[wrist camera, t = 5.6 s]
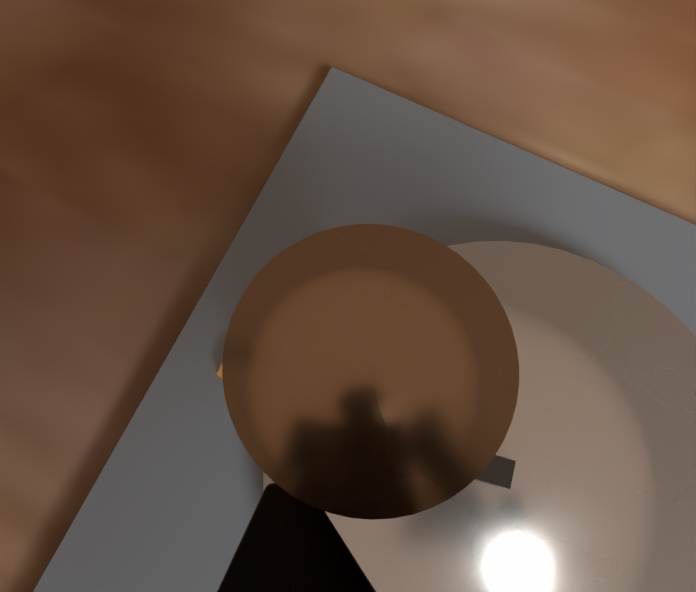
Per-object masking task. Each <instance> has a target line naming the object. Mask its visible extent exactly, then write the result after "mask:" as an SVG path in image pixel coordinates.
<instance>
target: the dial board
mask: <svg viewBox="0 0 696 592" xmlns="http://www.w3.org/2000/svg"><path fill="white" fill-rule="evenodd" d="M353 224H381V225H391V226H396V227H400V228H405V229H409V230H412V231H415V232H418V233H420V234H423V235H426V236H428V237H430V238H432V239H434V240H436V241H438V242H440V243H442V244H444V245H445V246H450V245H456V244H463V243H469V242H478V241H511V242H522V243H532V244H537V245H542V246H546V247H551V248H555V249H560V250H564V251H567V252H570V253H572V254H575V255H578V256H581V257H584V258H587V259H590V260H592V261H594V262H596V263H598V264H600V265H602V266H605V267H607V268H609V269H611V270H613V271H615V272H617V273H619V274H621V275H622V276H624V277H625V278H627V279H628V280H630V281H632V282H633V283H635V284H636V285H638V286H639V287H641V288H643V289H644V290H646V291H647V292H648V293H649V294H651V295H652V296H653V297H654V298H656V299H657V300H658V301H659V302H661V303H662V304H663V305H664V306H666V307H667V308H668V309H669V310H670V311H671V312H672V313H673V314H674V315H675V316H676V317H677V318H678V319H679V320H680V321H681V322H682V323H683V324H684V325H685V326H686V327H687V328H688V329H689V330H690V331H691V332H692V333H693V334H694V335H695V336H696V225H695V224H692V223H690V222H688V221H686V220H683V219H681V218H679V217H676V216H674V215H672V214H669V213H667V212H665V211H663V210H660V209H658V208H656V207H653V206H651V205H649V204H647V203H644V202H642V201H640V200H637V199H635V198H633V197H630V196H628V195H626V194H624V193H621V192H619V191H617V190H614V189H612V188H610V187H607V186H605V185H603V184H601V183H598V182H596V181H594V180H591V179H589V178H587V177H584V176H582V175H580V174H578V173H575V172H573V171H571V170H568V169H566V168H564V167H561V166H559V165H557V164H555V163H552V162H550V161H548V160H545V159H543V158H541V157H538V156H536V155H534V154H532V153H529V152H527V151H525V150H522V149H520V148H518V147H516V146H513V145H511V144H509V143H506V142H504V141H502V140H499V139H497V138H495V137H493V136H490V135H488V134H486V133H483V132H481V131H479V130H476V129H474V128H472V127H470V126H467V125H465V124H463V123H460V122H458V121H456V120H453V119H451V118H449V117H447V116H444V115H442V114H440V113H437V112H435V111H433V110H430V109H428V108H426V107H424V106H421V105H419V104H417V103H414V102H412V101H410V100H408V99H405V98H403V97H401V96H398V95H396V94H394V93H391V92H389V91H387V90H385V89H382V88H380V87H378V86H375V85H373V84H371V83H368V82H366V81H364V80H362V79H359V78H357V77H355V76H352V75H350V74H348V73H345V72H343V71H341V70H339V69H336V68H334V67H331V69H330V71H329V73H328V74H327V76H326V78H325V80H324V81H323V83H322V85H321V87H320V89H319V90H318V92H317V94H316V96H315V97H314V99H313V101H312V103H311V104H310V106H309V108H308V110H307V111H306V113H305V115H304V117H303V118H302V120H301V122H300V124H299V125H298V127H297V129H296V131H295V132H294V134H293V136H292V138H291V139H290V141H289V143H288V145H287V146H286V148H285V150H284V152H283V154H282V155H281V157H280V159H279V161H278V162H277V164H276V166H275V168H274V169H273V171H272V173H271V175H270V176H269V178H268V180H267V182H266V183H265V185H264V187H263V189H262V190H261V192H260V194H259V196H258V197H257V199H256V201H255V203H254V204H253V206H252V208H251V210H250V212H249V213H248V215H247V217H246V219H245V220H244V222H243V224H242V226H241V227H240V229H239V231H238V233H237V234H236V236H235V238H234V240H233V241H232V243H231V245H230V247H229V248H228V250H227V252H226V254H225V255H224V257H223V259H222V261H221V262H220V264H219V266H218V268H217V269H216V271H215V273H214V275H213V277H212V278H211V280H210V282H209V284H208V285H207V287H206V289H205V291H204V292H203V294H202V296H201V298H200V299H199V301H198V303H197V305H196V306H195V308H194V310H193V312H192V313H191V315H190V317H189V319H188V320H187V322H186V324H185V326H184V327H183V329H182V331H181V333H180V334H179V336H178V338H177V340H176V342H175V343H174V345H173V347H172V349H171V350H170V352H169V354H168V356H167V357H166V359H165V361H164V363H163V364H162V366H161V368H160V370H159V371H158V373H157V375H156V377H155V378H154V380H153V382H152V384H151V385H150V387H149V389H148V391H147V392H146V394H145V396H144V398H143V399H142V401H141V403H140V405H139V407H138V408H137V410H136V412H135V414H134V415H133V417H132V419H131V421H130V422H129V424H128V426H127V428H126V429H125V431H124V433H123V435H122V436H121V438H120V440H119V442H118V443H117V445H116V447H115V449H114V450H113V452H112V454H111V456H110V457H109V459H108V461H107V463H106V464H105V466H104V468H103V470H102V472H101V473H100V475H99V477H98V479H97V480H96V482H95V484H94V486H93V487H92V489H91V491H90V493H89V494H88V496H87V498H86V500H85V501H84V503H83V505H82V507H81V508H80V510H79V512H78V514H77V515H76V517H75V519H74V521H73V522H72V524H71V526H70V528H69V529H68V531H67V533H66V535H65V537H64V538H63V540H62V542H61V544H60V545H59V547H58V549H57V551H56V552H55V554H54V556H53V558H52V559H51V561H50V563H49V565H48V566H47V568H46V570H45V572H44V573H43V575H42V577H41V579H40V580H39V582H38V584H37V586H36V587H35V589H34V591H33V592H217V591H218V588H219V586H220V584H221V582H222V580H223V578H224V575H225V573H226V571H227V569H228V567H229V565H230V563H231V560H232V558H233V556H234V554H235V552H236V550H237V547H238V545H239V543H240V541H241V539H242V537H243V535H244V532H245V530H246V528H247V526H248V524H249V522H250V519H251V517H252V515H253V513H254V511H255V509H256V506H257V504H258V502H259V500H260V498H261V496H262V494H263V471H262V470H261V469H260V467H259V466H258V465H257V464H256V462H255V461H254V460H253V458H252V457H251V456H250V455H249V453H248V452H247V450H246V448H245V447H244V445H243V443H242V441H241V440H240V438H239V436H238V435H237V432H236V430H235V427H234V425H233V422H232V420H231V418H230V415H229V411H228V407H227V403H226V400H225V395H224V387H223V379H222V357H223V350H224V343H225V337H226V334H227V330H228V327H229V323H230V320H231V317H232V315H233V313H234V310H235V308H236V306H237V303H238V301H239V300H240V298H241V296H242V295H243V293H244V291H245V290H246V288H247V286H248V285H249V284H250V282H251V281H252V280H253V279H254V277H255V276H256V275H257V274H258V272H259V271H260V270H261V269H262V268H263V267H264V266H265V265H266V264H267V263H268V262H269V261H270V260H271V259H273V258H274V257H275V256H277V255H278V254H279V253H281V252H282V251H283V250H285V249H286V248H287V247H289V246H291V245H292V244H294V243H296V242H298V241H300V240H301V239H303V238H305V237H308V236H310V235H313V234H315V233H318V232H320V231H324V230H327V229H331V228H335V227H339V226H346V225H353Z"/></svg>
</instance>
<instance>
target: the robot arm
mask: <svg viewBox="0 0 696 592" xmlns="http://www.w3.org/2000/svg"><path fill="white" fill-rule="evenodd" d="M217 592H376V591H375V589H374V588H373V586H372V584H371V583H370V581H369V580H368V578H367V577H366V575H365V573H364V572H363V570H362V569H361V567H360V566H359V564H358V563H357V561H356V559H355V558H354V556H353V555H352V553H351V552H350V550H349V548H348V547H347V545H346V544H345V542H344V541H343V539H342V537H341V536H340V534H339V533H338V531H337V530H336V528H335V527H334V525H333V523H332V522H331V520H330V519H329V517H328V516H327V514H326V512H325V511H323V510H320V509H318V508H315V507H312V506H310V505H308V504H306V503H305V502H303V501H301V500H299V499H297V498H295V497H294V496H292V495H291V494H289V493H288V492H287V491H285V490H284V489H282V488H281V487H280V486H278V485H277V484H276V483H271V484H269V485H267V486H266V488H265V489H264V491H263V494H262V496H261V498H260V500H259V502H258V504H257V506H256V509H255V511H254V513H253V515H252V517H251V519H250V522H249V524H248V526H247V528H246V530H245V532H244V535H243V537H242V539H241V541H240V543H239V545H238V547H237V550H236V552H235V554H234V556H233V558H232V560H231V563H230V565H229V567H228V569H227V571H226V573H225V575H224V578H223V580H222V582H221V584H220V586H219V588H218V591H217Z"/></svg>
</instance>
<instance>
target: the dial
mask: <svg viewBox="0 0 696 592" xmlns="http://www.w3.org/2000/svg"><path fill="white" fill-rule="evenodd" d="M222 379H223V387H224V395H225V400H226V403H227V407H228V411H229V415H230V418H231V420H232V422H233V425H234V427H235V430H236V432H237V435H238V436H239V438H240V440H241V441H242V443H243V445H244V447H245V448H246V450H247V452H248V453H249V455H250V456H251V457H252V458H253V460H254V461H255V462H256V464H257V465H258V466H259V467H260V469H261V470H262V471H263V491H264V489H265V488H266V486H267V485H269V484H271V483H276V484H277V485H278V486H280V487H281V488H282V489H284V490H285V491H287V492H288V493H289V494H291V495H292V496H294V497H295V498H297V499H299V500H301V501H303V502H305V503H306V504H308V505H310V506H312V507H315V508H318V509H320V510H323V511H325V512H326V514H327V516H328V517H329V519H330V520H331V522H332V523H333V525H334V527H335V528H336V530H337V531H338V533H339V534H340V536H341V537H342V539H343V541H344V542H345V544H346V545H347V547H348V548H349V550H350V552H351V553H352V555H353V556H354V558H355V559H356V561H357V563H358V564H359V566H360V567H361V569H362V570H363V572H364V573H365V575H366V577H367V578H368V580H369V581H370V583H371V584H372V586H373V588H374V589H375V591H376V592H696V336H695V335H694V334H693V333H692V332H691V331H690V330H689V329H688V328H687V327H686V326H685V325H684V324H683V323H682V322H681V321H680V320H679V319H678V318H677V317H676V316H675V315H674V314H673V313H672V312H671V311H670V310H669V309H668V308H667V307H666V306H664V305H663V304H662V303H661V302H659V301H658V300H657V299H656V298H654V297H653V296H652V295H651V294H649V293H648V292H647V291H646V290H644V289H643V288H641V287H639V286H638V285H636V284H635V283H633V282H632V281H630V280H628V279H627V278H625V277H624V276H622V275H621V274H619V273H617V272H615V271H613V270H611V269H609V268H607V267H605V266H602V265H600V264H598V263H596V262H594V261H592V260H590V259H587V258H584V257H581V256H578V255H575V254H572V253H570V252H567V251H564V250H560V249H555V248H551V247H546V246H542V245H537V244H532V243H522V242H511V241H478V242H469V243H463V244H456V245H450V246H445V245H444V244H442V243H440V242H438V241H436V240H434V239H432V238H430V237H428V236H426V235H423V234H420V233H418V232H415V231H412V230H409V229H405V228H400V227H396V226H391V225H381V224H353V225H346V226H339V227H335V228H331V229H327V230H324V231H320V232H318V233H315V234H313V235H310V236H308V237H305V238H303V239H301V240H300V241H298V242H296V243H294V244H292V245H291V246H289V247H287V248H286V249H285V250H283V251H282V252H281V253H279V254H278V255H277V256H275V257H274V258H273V259H271V260H270V261H269V262H268V263H267V264H266V265H265V266H264V267H263V268H262V269H261V270H260V271H259V272H258V274H257V275H256V276H255V277H254V279H253V280H252V281H251V282H250V284H249V285H248V286H247V288H246V290H245V291H244V293H243V295H242V296H241V298H240V300H239V301H238V303H237V306H236V308H235V310H234V313H233V315H232V317H231V320H230V323H229V327H228V330H227V334H226V337H225V343H224V350H223V357H222Z"/></svg>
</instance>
